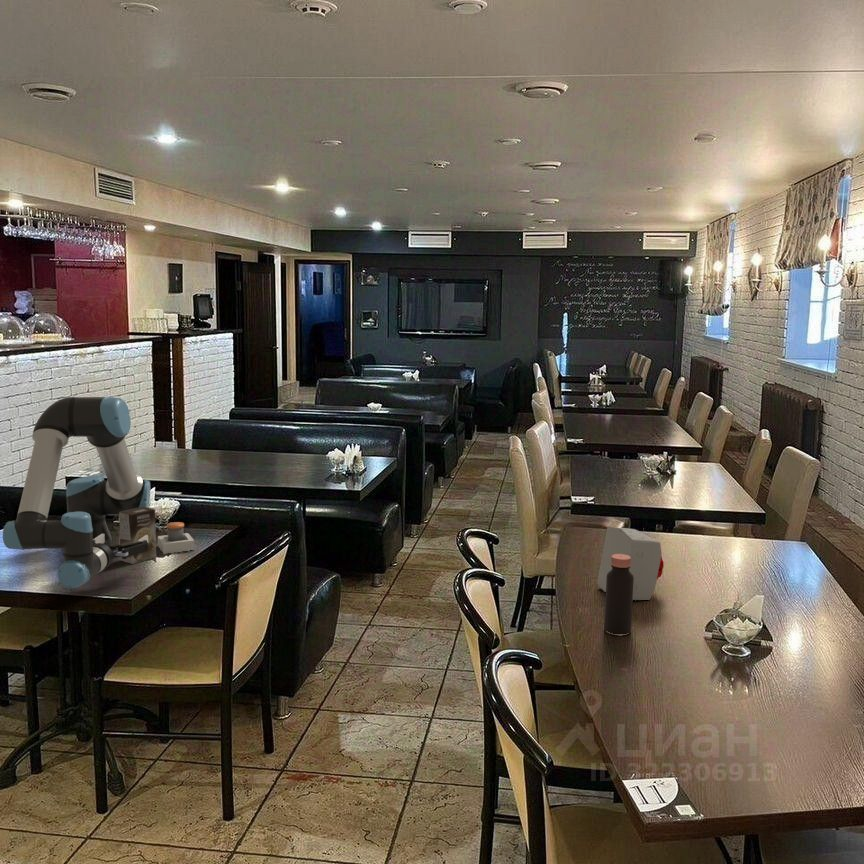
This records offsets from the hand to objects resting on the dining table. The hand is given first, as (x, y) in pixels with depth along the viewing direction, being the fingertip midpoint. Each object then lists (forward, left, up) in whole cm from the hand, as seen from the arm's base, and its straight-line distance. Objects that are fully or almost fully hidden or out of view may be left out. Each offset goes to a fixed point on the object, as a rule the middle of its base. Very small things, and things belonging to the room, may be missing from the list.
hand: (125, 538), depth 263 cm
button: (-15, +18, -7) cm, 25 cm away
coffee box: (-8, +5, -10) cm, 14 cm away
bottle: (+105, +106, -10) cm, 149 cm away
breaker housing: (-15, +18, -10) cm, 26 cm away
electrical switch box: (+84, +129, -10) cm, 154 cm away
